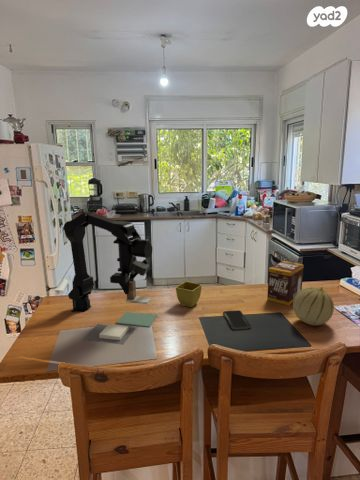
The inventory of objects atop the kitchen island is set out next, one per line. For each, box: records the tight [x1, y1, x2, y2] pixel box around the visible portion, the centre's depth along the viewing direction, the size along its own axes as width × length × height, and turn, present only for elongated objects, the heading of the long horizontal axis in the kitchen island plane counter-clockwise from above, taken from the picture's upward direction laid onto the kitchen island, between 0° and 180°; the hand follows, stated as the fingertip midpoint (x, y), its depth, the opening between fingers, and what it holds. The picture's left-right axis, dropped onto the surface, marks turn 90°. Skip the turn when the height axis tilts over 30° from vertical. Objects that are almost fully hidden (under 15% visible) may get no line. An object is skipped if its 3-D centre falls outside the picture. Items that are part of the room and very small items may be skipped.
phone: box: [222, 310, 252, 331], centre depth 135 cm, size 8×1×15 cm
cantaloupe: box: [292, 286, 335, 326], centre depth 130 cm, size 15×15×15 cm
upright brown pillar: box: [125, 280, 153, 305], centre depth 132 cm, size 9×5×8 cm, turn 76°
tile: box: [99, 323, 130, 340], centre depth 124 cm, size 2×8×8 cm
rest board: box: [115, 311, 158, 328], centre depth 136 cm, size 14×10×1 cm
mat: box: [81, 323, 137, 345], centre depth 125 cm, size 16×12×1 cm
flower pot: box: [175, 281, 203, 308], centre depth 150 cm, size 9×9×9 cm
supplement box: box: [267, 260, 305, 306], centre depth 155 cm, size 10×15×16 cm
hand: (128, 292), depth 133 cm, fingers closed on upright brown pillar, 3 cm apart
